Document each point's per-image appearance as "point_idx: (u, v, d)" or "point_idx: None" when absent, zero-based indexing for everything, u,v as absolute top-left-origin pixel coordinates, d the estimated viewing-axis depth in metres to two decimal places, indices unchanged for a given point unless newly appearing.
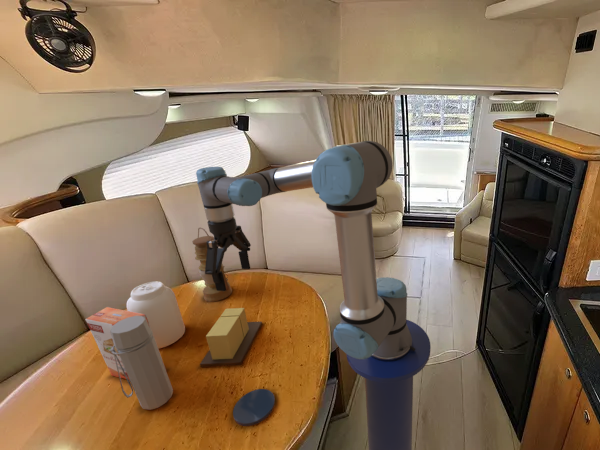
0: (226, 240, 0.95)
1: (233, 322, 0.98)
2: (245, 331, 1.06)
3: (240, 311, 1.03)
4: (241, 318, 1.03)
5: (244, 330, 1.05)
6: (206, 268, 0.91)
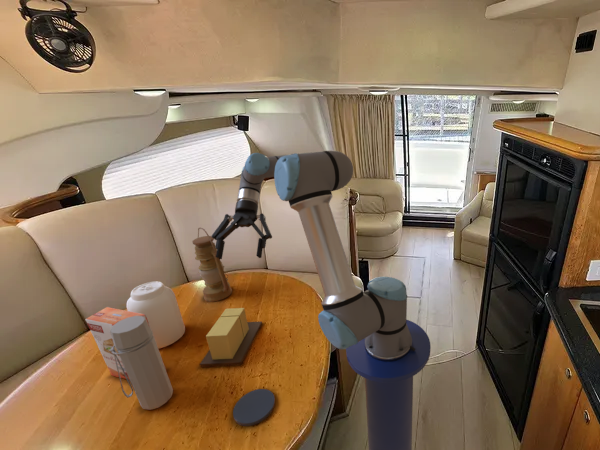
0: None
1: (233, 322, 0.98)
2: (245, 331, 1.06)
3: (240, 311, 1.03)
4: (241, 318, 1.03)
5: (244, 330, 1.05)
6: None
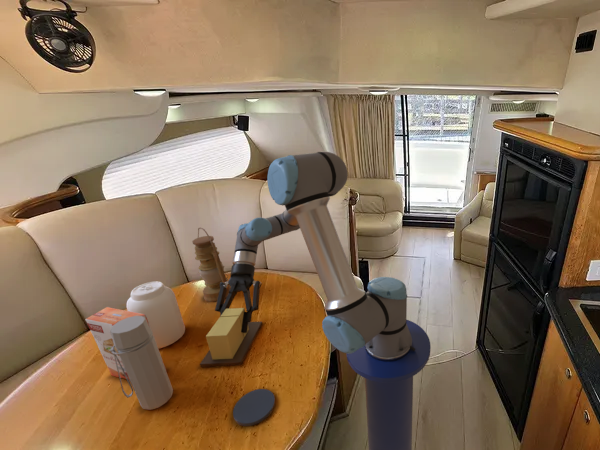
0: None
1: (233, 322, 0.98)
2: None
3: (240, 311, 1.03)
4: (241, 318, 1.03)
5: None
6: None
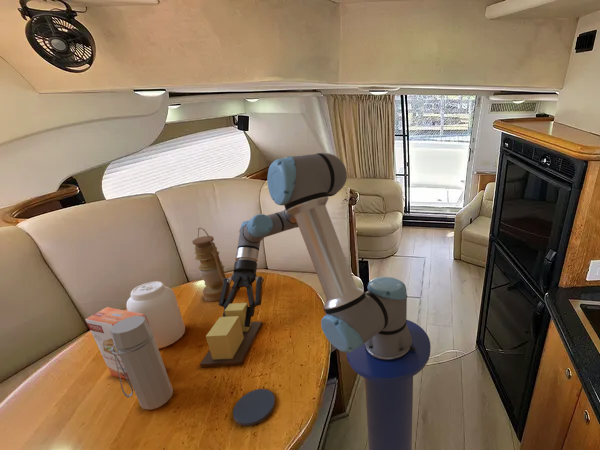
0: None
1: (233, 322, 0.98)
2: None
3: (243, 306, 1.06)
4: (244, 313, 1.05)
5: None
6: None
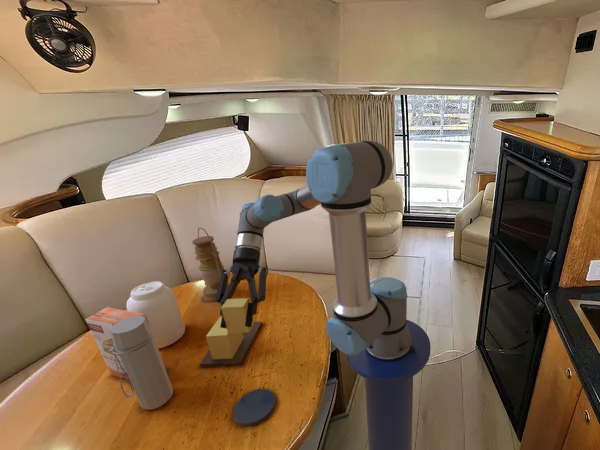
0: None
1: None
2: None
3: (244, 302, 0.89)
4: (245, 310, 0.88)
5: None
6: None
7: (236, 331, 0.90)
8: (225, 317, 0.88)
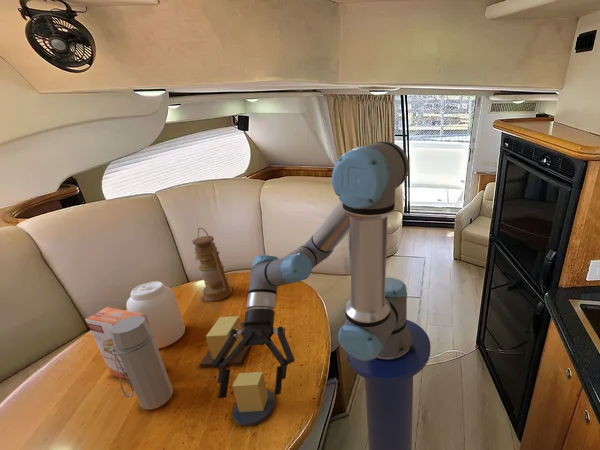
0: (247, 334, 0.83)
1: (233, 322, 0.98)
2: (264, 402, 0.81)
3: (258, 378, 0.78)
4: (259, 387, 0.78)
5: (263, 401, 0.80)
6: None
7: (249, 410, 0.79)
8: (237, 396, 0.77)
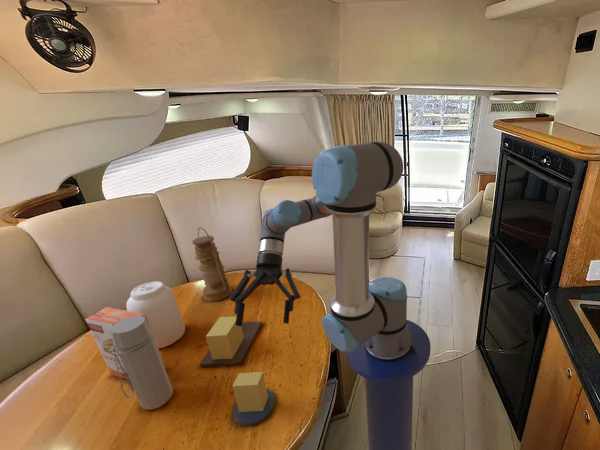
0: None
1: (233, 322, 0.98)
2: (264, 402, 0.81)
3: (258, 378, 0.78)
4: (259, 387, 0.78)
5: (263, 401, 0.80)
6: None
7: (249, 410, 0.79)
8: (237, 396, 0.77)
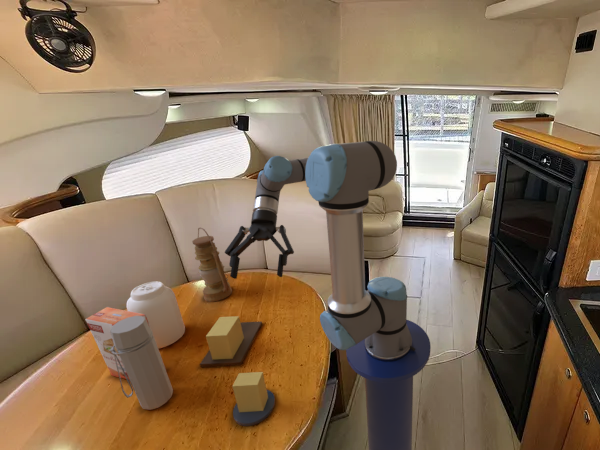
0: None
1: (233, 322, 0.98)
2: (264, 402, 0.81)
3: (258, 378, 0.78)
4: (259, 387, 0.78)
5: (263, 401, 0.80)
6: None
7: (249, 410, 0.79)
8: (237, 396, 0.77)
